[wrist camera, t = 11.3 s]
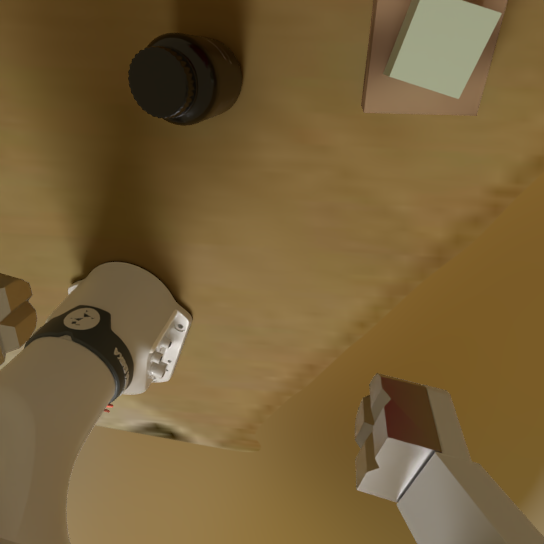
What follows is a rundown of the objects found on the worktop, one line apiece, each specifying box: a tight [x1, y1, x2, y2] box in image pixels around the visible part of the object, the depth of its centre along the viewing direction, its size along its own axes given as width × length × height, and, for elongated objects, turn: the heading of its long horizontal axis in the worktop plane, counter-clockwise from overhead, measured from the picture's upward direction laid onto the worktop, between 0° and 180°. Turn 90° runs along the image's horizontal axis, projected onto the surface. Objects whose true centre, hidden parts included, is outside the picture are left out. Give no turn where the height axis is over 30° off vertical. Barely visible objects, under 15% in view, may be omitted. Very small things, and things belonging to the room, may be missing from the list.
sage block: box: [383, 0, 502, 99], centre depth 26 cm, size 5×5×5 cm
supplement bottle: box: [128, 33, 242, 126], centre depth 32 cm, size 7×7×12 cm
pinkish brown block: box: [361, 0, 508, 116], centre depth 31 cm, size 9×9×6 cm
